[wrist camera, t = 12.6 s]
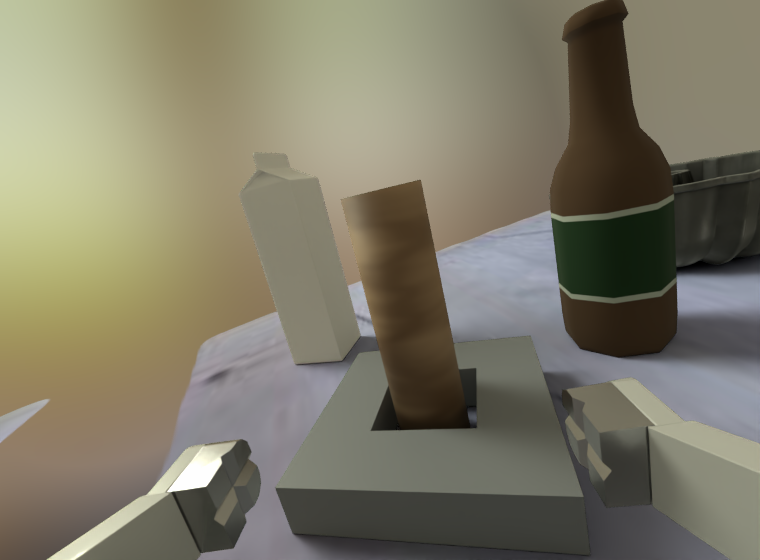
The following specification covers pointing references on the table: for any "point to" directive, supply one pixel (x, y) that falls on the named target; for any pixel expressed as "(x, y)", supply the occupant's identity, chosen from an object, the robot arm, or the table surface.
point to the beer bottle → (611, 202)
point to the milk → (300, 260)
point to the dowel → (407, 305)
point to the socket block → (442, 462)
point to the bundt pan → (717, 208)
